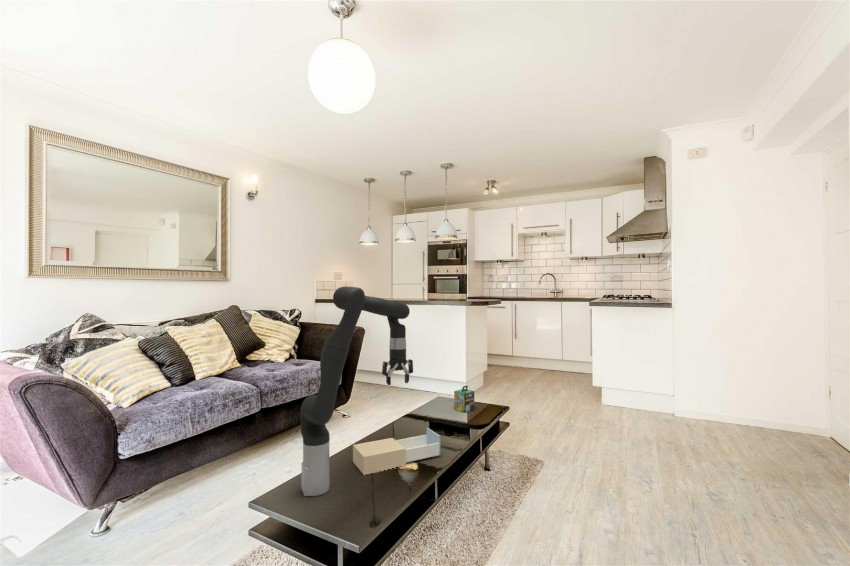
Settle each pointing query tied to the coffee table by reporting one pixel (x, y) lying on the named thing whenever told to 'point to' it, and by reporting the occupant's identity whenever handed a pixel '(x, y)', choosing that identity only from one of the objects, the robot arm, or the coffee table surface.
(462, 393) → the chalk box
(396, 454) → the sleeve
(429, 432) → the inner tray
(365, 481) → the coffee table surface
